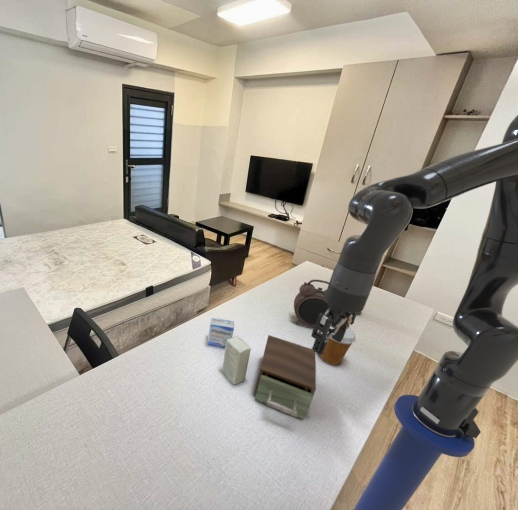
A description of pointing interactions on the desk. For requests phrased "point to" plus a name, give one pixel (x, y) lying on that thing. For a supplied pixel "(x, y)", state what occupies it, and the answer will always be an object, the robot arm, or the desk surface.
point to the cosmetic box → (236, 359)
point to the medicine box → (220, 332)
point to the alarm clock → (310, 303)
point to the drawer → (283, 395)
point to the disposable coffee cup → (338, 347)
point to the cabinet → (289, 363)
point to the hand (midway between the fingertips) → (327, 345)
